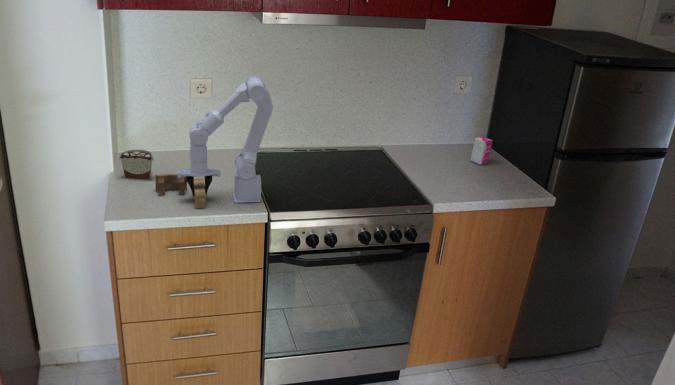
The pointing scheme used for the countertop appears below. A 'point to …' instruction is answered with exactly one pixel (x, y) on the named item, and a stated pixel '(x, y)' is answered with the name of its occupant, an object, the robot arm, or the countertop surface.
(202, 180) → the rail
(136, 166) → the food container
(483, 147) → the supplement box
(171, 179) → the brown wooden stool
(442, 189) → the countertop surface
